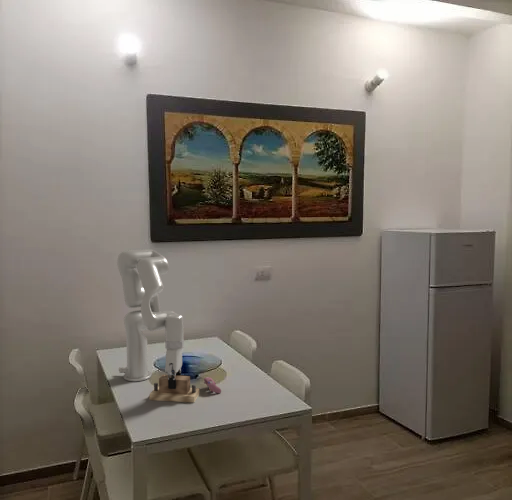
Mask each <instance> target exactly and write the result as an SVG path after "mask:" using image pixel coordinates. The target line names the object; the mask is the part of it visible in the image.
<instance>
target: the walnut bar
mask: <svg viewBox="0 0 512 500" xmlns="http://www.w3.org/2000/svg"><path fill="white" fill-rule="evenodd" d="M172 375H173V374H172ZM173 376H174V375H173ZM175 379H176V389H169V388H168V374H162V375H161V376H160V377H159V378H158V386H159V393H172V394H188V392H189V391H190V388H191V376H190V375H181V376H178V375H176V377H175Z"/></svg>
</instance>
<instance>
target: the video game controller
mask: <svg viewBox="0 0 512 500" xmlns="http://www.w3.org/2000/svg"><path fill="white" fill-rule="evenodd" d="M203 384H204V385H206V386H207V388H208V390H209V391H210V392H211V393H212V392H214V393H215V394H221V392H222V389H221V388H220V387H219V386H217V385H216V384H217V383H216V382H215V380H213V378H212V377H209V376H206V377H204V378H203Z"/></svg>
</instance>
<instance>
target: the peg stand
mask: <svg viewBox="0 0 512 500" xmlns="http://www.w3.org/2000/svg"><path fill="white" fill-rule="evenodd" d="M199 395H200V388H199V387H197V385H196V384H191V387H190V391H189V392H188V394H172V393H159V382H154V383H153V389H152V391H150V393H149V401H160V402H161V401H162V402H179V403H181V402H182V403H195V402H196V401H197V399H198V397H199Z"/></svg>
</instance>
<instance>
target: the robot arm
mask: <svg viewBox="0 0 512 500" xmlns="http://www.w3.org/2000/svg"><path fill="white" fill-rule="evenodd" d="M116 263H117V265H116V266H117V269H118V272H119V275H120V277H121V282H122V290H123V298H124V303H125V306H126V307H127V308H130V309H135V308H140V309H138V310H137V309H136V310H133V311H130V312H127V313H126V314H125V315H124V318H123V325H124V330H125V337H126V339H125V340H126V341H125V342H126V343H125V344H126V367H122V366H120V367H119V368H118V372H119V373H122V374H123V373H124V374H123V379H124V380H125V381H127V382H128V381H129V382H143V381H145V380H148V379H150V378H151V377H152V373H151V372H150V371H149V369H148V367H149V366H148V360H149V359H148V338H147V337H146V335H145V334H144V332H143V331H147V330H148V331H150V332H156V331H162V330H165V331H164V333H165V334H164V335H165V339H164V340H165V343H164V344H165V345H164V346H165V349H166V351H165V366H164V367H165V369H164V371H165V373H166V374H167V375H168V388H169V389H176V379H175V377H176V375H178V376H182V366H183V349H184V347H185V346H184V341H185V340H184V316H183V315H182V314H179V313H176V312H175V311H173V310H164V311H161V304H160V297H159V294H161V293H162V292H163V291H164V289H165V286H164V284H163V283H164V282H163V281H162V277H161V276H163V275H167V274H168V273H169V270H170V264H169V261H168V260H167V258H166V256H164V255H162V254H161V253H159V252H158V251H156V250H155V249H150V248H149V249H148V248H147V249H130V250H129V249H128V250H125V251H121V253H119V255H118V257H117V262H116ZM173 375H174V376H173Z"/></svg>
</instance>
